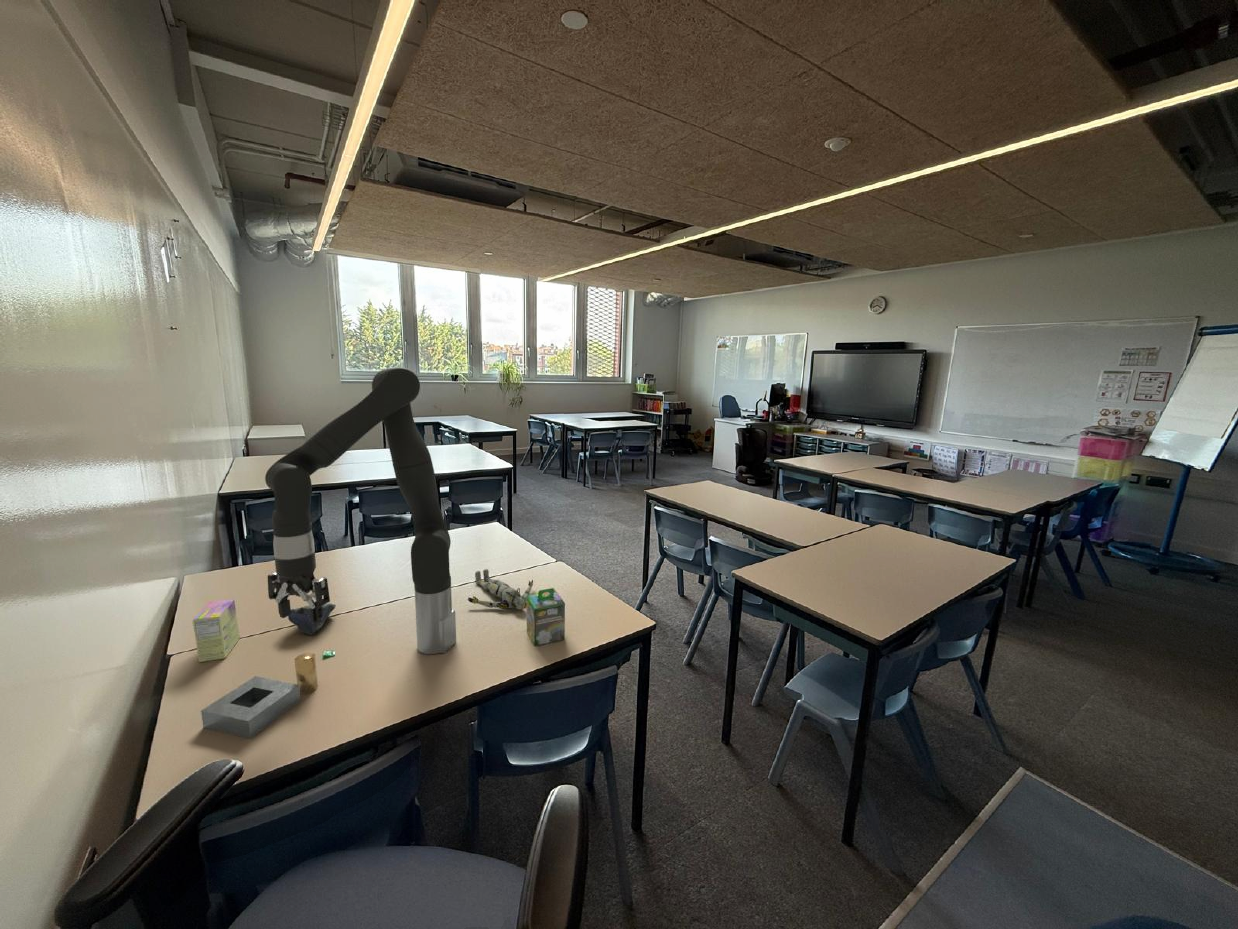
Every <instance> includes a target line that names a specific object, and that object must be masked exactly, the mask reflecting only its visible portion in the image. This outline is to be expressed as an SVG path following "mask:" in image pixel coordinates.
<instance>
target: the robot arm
mask: <svg viewBox="0 0 1238 929" xmlns="http://www.w3.org/2000/svg"><path fill="white" fill-rule="evenodd" d="M420 383H421V381H420V379H419V377H418V375H416V374H415V372H414V371H412V370H410V369H409V368H406V367H401V366H399V367H398V366H394V367H389V368H385V369H384V368H383V369H382V370H380V371H378V372H377V373H376V374H375V375H374V376H373V379H372V382H371V390H372V391H371V392H370V393H369V394H367V395H366V396H365V397H364V398H363V399H362V400H361V401H359V402H358V403H357V404H355V405H354V406H353V407H351V408H350V409H349V410H347V411H345V412H344V413H342V414H340V415H339V416H337V417H336V418H334V419H333V420H331V421H329V422H328V423H327V424H326V425H324V426H323V427H322V428H321V429H319V430H318V431H317V432H316V433H315V434H313V435H312V436H311V437H310V438H309V439H308V440H307V441H305V442H304V443H303V444H302V445H301V446H299V447H297V448H294V449H293V450H292V451H290V452H289V453H287V454H286V455H284V456H282V457H280V459H278V460H277V461H275V462H274V463H273V464H272V465H271V466H270V467H269V468H268V469H267V471H266V473H265V477H264V481H265V484H266V486H267V487H268V488H269V489H270V490H271V491H273V494H274V507H275V509H274V510H273V511H272V515H271V518H272V522H271V523H272V532H273V533H272V534H273V543H272V545H273V556H274V566H275V572H272V573H269V574H268V575H267V591H268V593H267V594H268V595H267V596H268V599H270V600H275V603H276V604H277V607H278V614H279V617H280V618H282V619H285V618H288V616H289V615H290V614H291V600H290V599H289V598H290V596H295V597H299V598H301V599H302V600H303V601H304V602H306V603H307V604H308V606H310V607H311V608H310V611H311V622H312V623H317V622H318V621H320V620H321V619H322V617H323V612H322V606H323V605H325V604H329V603H330V601H331V599H330V598H331V597H330V589H329V582H328V578H327V577H326V576H325V577H323V578H320V579H319V578H316V577H315V575H314V572H315V570H316V568H317V561H316V551H315V550H316V549H315V539H314V535H313V528H312V518H311V510H310V509H311V505H312V504H311V503H312V502H311V501H312V492H313V490H312V489H313V488H312V487H313V486H312V480H311V476H312V475H313V474H315V473H316V472H317V471H318V470H320V469H326V468H328V467H330V466H331V465H332V464H334V463H335V462H336V461H337V460H338V459H340V458H341V457H342V456H343V455H344V454H345V453H346V452H348V451H349V449H350V448H352V447H353V446H354V445H355V444H356V443H357V442H359V441H360V439H362V438H363V437H364V436H366V435H367V434H368V433H369V432H370V431H371V430H372V429H374V428H375V427H376V426H377V425H378V424H380V423H381V422H383V426H384V429H385V433H386V439H387V443H388V447H389V448H388V449H389V453H390V457H391V462H392V467H393V470H394V471H393V472H394V475H395V480H396V483H397V486H398V488H399V491H400V493H401V495H402V496H403V498H404V500H405V502H406V504H407V505H408V508H409V510H410V513H411V516H412V517H411V518H412V522H413V527H414V528H413V529H414V539H413V542H412V545H411V546H410V565H411V576H412V582H413V584H414V585H413V586H414V587H413V588H414V604H415V626H416V647H417V651H418V652H419V653H421V654H423V655H437V654H446V653H447V651H449V650H450V649H451V647H453V646H454V645H455V644H456V643H457V625H456V624H457V623H456V622H457V621H456V619H457V618H456V610H453V604H452V603H453V601H452V600H453V598H452V577H451V573H450V548H451V536H450V534H449V530H448V527H447V525H446V521H445V518H444V516H443V513H442V511H441V506H440V501H439V491H438V486H437V480H436V473H435V470H434V465H433V460H432V457H431V453H430V451H429V448H428V446H427V444H426V442H425V440H424V438H423V437H422V434H421V433H420V432H419V429H418V427H417V425H416V423H415V419H414V415H413V410H412V405H411V403H412V402H413V401H415V400H416V398H417V397H418V395H419V393H420V390H421V384H420ZM310 592H311V593H310ZM309 593H310V594H309ZM314 600H315V601H314Z"/></svg>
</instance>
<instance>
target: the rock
mask: <svg viewBox="0 0 1238 929" xmlns="http://www.w3.org/2000/svg"><path fill="white" fill-rule="evenodd" d="M310 608H311V607H310V605H305V606H301V607H297V608H292V609H291V614H290V615H289V616H287V618H288V621H289V622H291V623H292V624H293V625H295V626H296V627H297V628H298V629H299V630H300V631H301V632H302V633H304V634H306V635H307V636H308V635H309V636H313V635H315V633H316V632H317V631H318V630H320V629H321V628H322V626H323V625H324V623H325V621H326V619H328V617H329V616H330V614H331V613H332V612H333V610H334V609H336V604H332V603H330V602H328V603H326V604H325V605H323V606H322V612H323V617H322V619H321V620H320V621H318V622H317V623H312V622H311V611H310Z"/></svg>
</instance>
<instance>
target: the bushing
mask: <svg viewBox="0 0 1238 929" xmlns="http://www.w3.org/2000/svg"><path fill="white" fill-rule="evenodd" d="M294 669H295V677H296V684H297V685H299V690H300V695H306V694H310V693H312V692H314V691H316V690H317V688H318V687H319V684H318V674H317V662H316V654H315V653H314V652H304V653H301V654H299V655H297V656H296V657H294Z"/></svg>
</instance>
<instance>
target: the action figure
mask: <svg viewBox="0 0 1238 929" xmlns="http://www.w3.org/2000/svg"><path fill="white" fill-rule="evenodd" d="M482 574H483V579H482V577H481V576H482V575H481V571H480V570H477V571H475V573H474V577H475V583H476V584H477V585H480V586H481V587H482V588H483V589H484V590H485V591H490V592H491V593H492V594H493V595H496V596H497V597H498V598H499V599H502V601H493V602H492V601H488V600H479V599H478V598H477V597H476V596H472V598H471V597H468V599H467V601H468V602H469V603H471V604H475V605H476V604H478V605H481V606H483V607H486V608H490V609H492V608H498V609H501V610H502V609H503V610H506V609H517V610H519V611H520V610H523V609H524V608H526V607H525V606H526V596H528V595H531V592H532V588H533V586H534V579H531V580H528V587H527V588H526V589H525V591H524V593H523V594H522V595H521V593H520V592H521V589H520V587H518V588H517V589H515V588H514V587H513V588H512V587H511V586H510V585H509V584H508V583H506V582H504V581H502V580H500V579H492V578H490V576H489V569H488V568H485V569H483V571H482Z"/></svg>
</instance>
